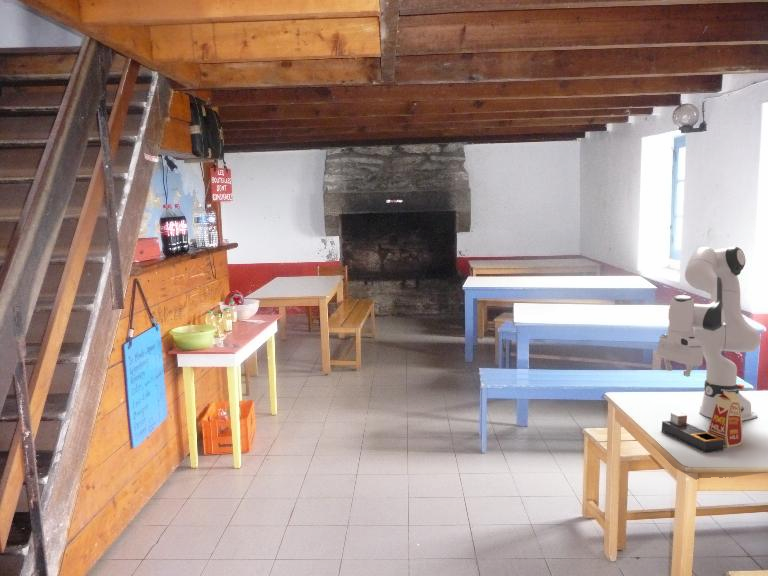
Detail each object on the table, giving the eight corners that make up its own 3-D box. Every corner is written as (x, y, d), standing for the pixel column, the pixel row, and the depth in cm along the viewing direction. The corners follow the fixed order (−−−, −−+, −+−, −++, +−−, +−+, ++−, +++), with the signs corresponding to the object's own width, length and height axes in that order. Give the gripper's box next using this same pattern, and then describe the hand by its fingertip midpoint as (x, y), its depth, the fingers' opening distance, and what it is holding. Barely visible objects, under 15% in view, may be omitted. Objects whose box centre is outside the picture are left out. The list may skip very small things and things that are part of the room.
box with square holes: (678, 429, 238) (679, 419, 237) (723, 450, 217) (724, 439, 216) (661, 431, 236) (662, 420, 235) (705, 452, 214) (705, 441, 214)
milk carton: (727, 447, 219) (731, 394, 217) (705, 439, 228) (709, 388, 225) (744, 444, 223) (748, 392, 220) (721, 435, 231) (725, 385, 229)
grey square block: (678, 431, 235) (679, 412, 234) (685, 435, 231) (687, 415, 230) (669, 432, 234) (670, 412, 233) (677, 436, 230) (678, 416, 229)
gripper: (654, 333, 239) (651, 367, 241) (693, 343, 220) (690, 379, 221) (667, 332, 241) (665, 366, 242) (707, 342, 222) (704, 379, 223)
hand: (677, 373), depth 232 cm, fingers open, 8 cm apart
